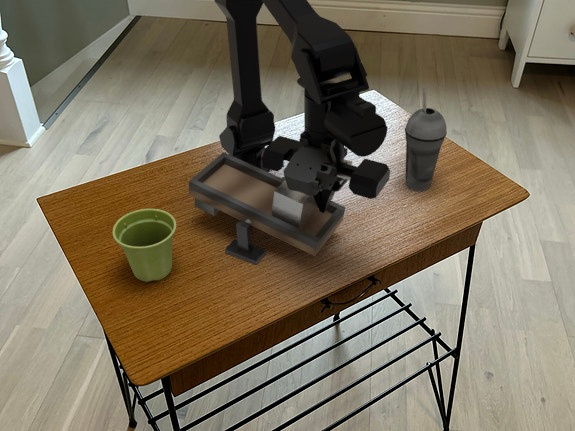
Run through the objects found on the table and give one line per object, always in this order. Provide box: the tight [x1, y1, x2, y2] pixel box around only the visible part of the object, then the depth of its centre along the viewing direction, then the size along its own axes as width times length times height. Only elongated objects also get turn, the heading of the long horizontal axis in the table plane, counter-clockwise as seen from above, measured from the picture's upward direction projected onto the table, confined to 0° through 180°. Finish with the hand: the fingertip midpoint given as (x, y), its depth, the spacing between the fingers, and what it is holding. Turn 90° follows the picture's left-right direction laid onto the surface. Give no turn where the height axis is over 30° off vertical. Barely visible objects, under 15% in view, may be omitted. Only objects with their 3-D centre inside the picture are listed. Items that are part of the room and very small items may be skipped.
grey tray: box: [188, 152, 346, 257], centre depth 101 cm, size 24×12×6 cm, turn 60°
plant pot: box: [112, 208, 177, 283], centre depth 94 cm, size 9×9×9 cm
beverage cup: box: [404, 85, 447, 192], centre depth 108 cm, size 7×7×20 cm
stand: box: [224, 176, 285, 266], centre depth 102 cm, size 6×17×6 cm, turn 151°
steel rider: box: [271, 180, 318, 229], centre depth 96 cm, size 5×7×6 cm
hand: (323, 211), depth 95 cm, fingers closed
